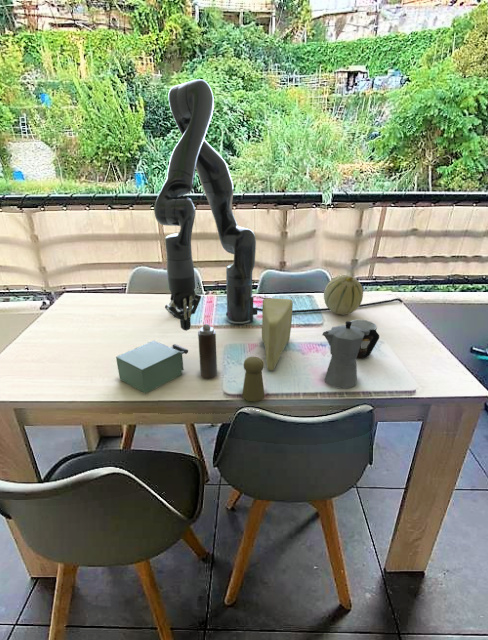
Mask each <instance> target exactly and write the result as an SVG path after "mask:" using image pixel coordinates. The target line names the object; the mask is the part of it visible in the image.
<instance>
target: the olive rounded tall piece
mask: <svg viewBox="0 0 488 640" xmlns="http://www.w3.org/2000/svg"><path fill="white" fill-rule="evenodd" d="M264 367H265V363H264V360H263V358H261V357H258V356H249V357H247V358H245V360H244V361H243V369H244V371H245V374H244V379H243V387H242V394H241V397H242V398H243V400H245V401H248V402H254V403H255V402H259V401H262V400H263V399H264V398H265V387H264V380H263V370H264Z"/></svg>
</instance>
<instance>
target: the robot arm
mask: <svg viewBox="0 0 488 640" xmlns="http://www.w3.org/2000/svg"><path fill="white" fill-rule="evenodd" d="M168 103H169V108H170V112H171V114H172V117H173V119H174V121H175V124H176V126H177V128H178V130H179V132H180V135H181V137H180V139H179V141H178V142H177V143H176V145H175V146H174V148H173V150H172V153H171V155H170V158H169V163H168V167H167V174H166V178H165V181H164V183H163V185H162V187H161V190H160V192H159V194H157V197H156V200H155V203H154V207H153V214H154V217H155V220H156V222H157V223H158V224H159V225H162V226H172V227H180V229H179V232H176V233H171V234H169V235H167V236H166V237H165V238H164V247H165V248H164V249H165V257H166V273H167V275H166V276H167V282H168V283H167V284H168V290H169V291H170V302H169V304H165V305H164V306H165V307H164V309H165V310H166V311H167V312H168V313H169V314H170V315H171V316H172V317H173V318H175V319H177V320H179V324H180V328H181V330H183V331H185V332H187V331H189V330H191V325H192V323H191V317H192V315H195V314H196V312H197V309H198V307H199V304H200V302H201V299H202V296H201V295H200V294H197V293H196V291H195V289H196V278H195V265H194V260H193V253H192V235H193V228H194V223H195V219H196V206H195V204H194V202H193V201H192V199H191V198H189V197H185V195H188V194H190V193H191V192H192V190H193V189H194V188H193V187H194V181H195V176H196V172H197V176H198V179H199V181H200V184H201V187H202V190H203V192H204V194H205V197H206V199H207V203H208V205H209V209H210V210H211V213H212V216H213V219H214V222H215V225H216V226H215V227H216V230H217V233H218V237H219V241H220V244H221V246H222V248H223V250H224V251H225V252H227V253H228V254H231V255H233V263H231V264H228V265H227V266H226V269H225V273H226V275H225V279H226V286H225V287H226V313H225V317H226V321H227V322H228V323H230V324H234V325H247V324H249V323H253V322H254V316H257V315H258V311H259V312H262V309H263V308H260V307H258V306H257V305H256V304H255V302H254V296H253V270H254V268H255V264H256V254H257V253H256V252H257V240H256V235H255V232H253V230H251V229H250V228H246V227H242V226H239V225H238V223H237V221H236V218H235V215H234V212H233V211H234V210H233V200H234V199H233V198H234V182H233V179H232V177H231V173H230V170H229V167H228V164H227V162H226V161H225V159H224V158H223V157H222V156H221V155H220V154H219V153H218V152H217V151H216V149H214V148H213V147H212V146H211V145H210V144H209V143H208V142H207V140H206V139H205V137H206V135H207V132H208V129H209V126H210V123H211V120H212V117H213V113H214V107H215V99H214V94H213V91H212V88H211V86H210V84H209V83H208V82H207V81H206V80H204V79H194V80H190V81H187V82H183V83H180V84H176V85H174V86H172V87H171V88H170V89H169V92H168ZM396 301H397V302H400V303H403V300H402V299H401V298H397V297H396V298H392V299H387V300H386V299H385V300H381V301H375V302H370V303H368V302H367V303H363V304H362V303H361V304H360V306H359V307H358V308H363V307H370V306H374V305H375V306H376V305H381V304H386V303H393V302H396ZM175 306H176V307H175ZM326 311H331V310H330V309H329V308H328V307H325V308H311V309H295V310H292V314H295V313H311V312H326Z"/></svg>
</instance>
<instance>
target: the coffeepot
mask: <svg viewBox="0 0 488 640" xmlns="http://www.w3.org/2000/svg"><path fill="white" fill-rule="evenodd" d="M350 321H351V320H350ZM350 321H349V320H347V321H345V324H340V325H335V326H332V327H331V329H328V330H325V331H323V332H322V334H321V335H322V336H324V338H325V339H326V341H327V343H328V345H329V350H330V355H331V356H330V360H329V364H328V367H327V370H326V373H325V377H324V381H325V382H326V383H327V384H328V385H329V386H331V387H333V388H336V389H350V388H353V387H355V386H356V384H357V380H358V369H357V365H358V364H357V363H358V362H357V359H356V358H357V355H358V352H359V349H360V346H361V343H362V340H363V337H369V336H373V338H372V340H371V342H370V345H369V346H368V348H367V352H366V353H365V354H361V356H362V357H367V358H369V357H370V356H371V354H372V352H373V350H374V348H375V346H376V344H377V343H378V342H379V339H380V334H379V332H377V329H376V330H374V329H371V330H368V329H362V330H361V329H359V328H357V327H354V326H351V324H352V322H350Z"/></svg>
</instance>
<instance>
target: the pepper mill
mask: <svg viewBox="0 0 488 640" xmlns="http://www.w3.org/2000/svg"><path fill="white" fill-rule="evenodd" d="M197 339H198V356H199V371H200V377H201V378H202V379H205V380H213V379H215V378H216V377H217V376H218V360H217V359H218V358H217V357H218V356H217V334H216V331H215V329H214V327H213V326H210V324H209V323H205V324H204V325H202V327H200V328H199V330H198V332H197Z"/></svg>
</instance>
